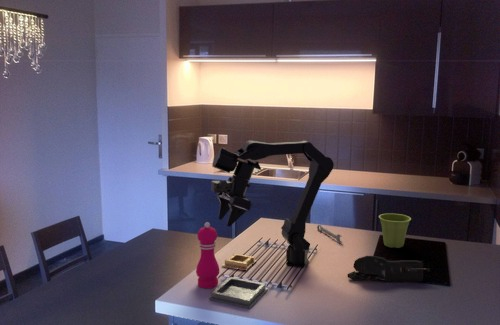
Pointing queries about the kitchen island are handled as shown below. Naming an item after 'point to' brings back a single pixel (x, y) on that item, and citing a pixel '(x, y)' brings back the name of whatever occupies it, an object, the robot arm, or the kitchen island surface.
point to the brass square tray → (239, 262)
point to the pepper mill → (207, 258)
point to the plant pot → (394, 229)
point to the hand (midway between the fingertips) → (223, 222)
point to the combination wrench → (330, 233)
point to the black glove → (387, 270)
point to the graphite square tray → (239, 292)
